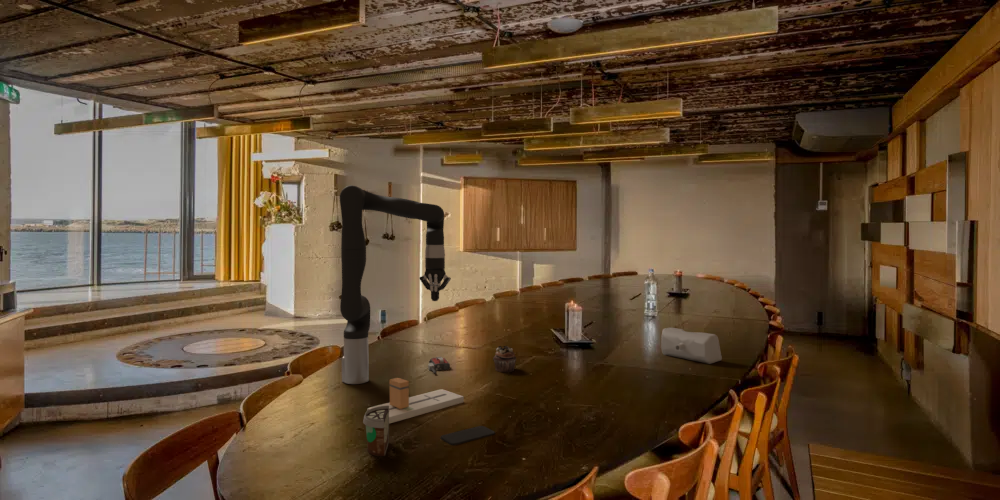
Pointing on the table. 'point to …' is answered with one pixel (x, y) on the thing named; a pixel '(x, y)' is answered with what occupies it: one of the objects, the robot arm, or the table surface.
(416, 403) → the white slider board
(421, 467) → the table surface
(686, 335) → the grey faceted block
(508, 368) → the cupcake
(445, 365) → the walkie-talkie
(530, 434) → the table surface
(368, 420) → the food container
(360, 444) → the table surface
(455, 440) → the phone
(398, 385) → the fader tab
